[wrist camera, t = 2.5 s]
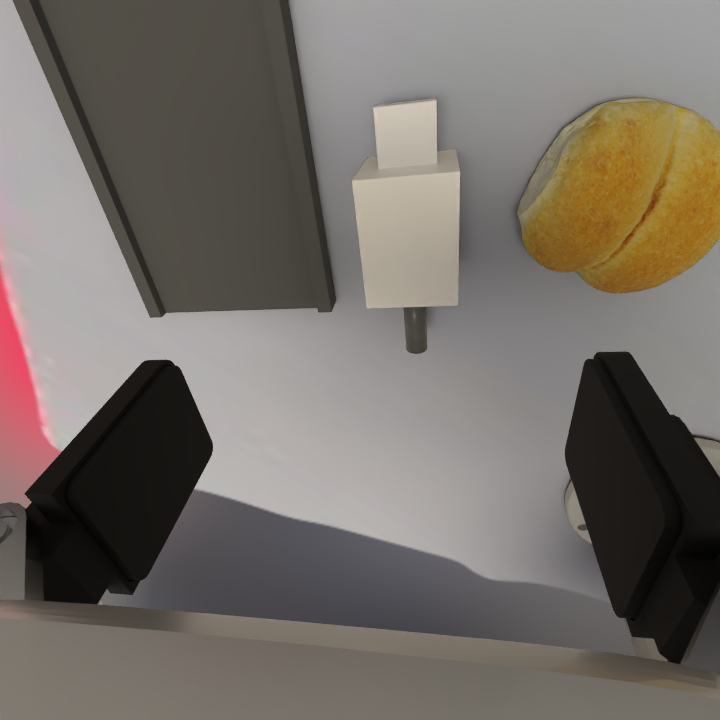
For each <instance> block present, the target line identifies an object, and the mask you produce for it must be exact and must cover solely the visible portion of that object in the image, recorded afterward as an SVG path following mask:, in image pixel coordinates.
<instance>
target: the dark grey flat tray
mask: <svg viewBox="0 0 720 720" xmlns="http://www.w3.org/2000/svg"><path fill="white" fill-rule="evenodd" d="M13 2H14V5H15V7H16V9H17V12H18V14H19V16H20V19H21V21H22V23H23V25H24V28H25V30H26V32H27V35H28V37H29V39H30V42H31V44H32V46H33V48H34V51H35V53H36V55H37V58H38V60H39V62H40V65H41V67H42V69H43V72H44V74H45V76H46V78H47V81H48V83H49V85H50V88H51V90H52V92H53V95H54V97H55V99H56V101H57V104H58V106H59V108H60V111H61V113H62V115H63V118H64V120H65V122H66V125H67V127H68V129H69V131H70V134H71V136H72V138H73V141H74V143H75V145H76V148H77V150H78V152H79V154H80V157H81V159H82V161H83V164H84V166H85V168H86V171H87V173H88V175H89V178H90V180H91V182H92V184H93V187H94V189H95V191H96V194H97V196H98V198H99V201H100V203H101V205H102V207H103V210H104V212H105V214H106V217H107V219H108V221H109V224H110V226H111V228H112V230H113V233H114V235H115V237H116V240H117V242H118V244H119V247H120V249H121V251H122V254H123V256H124V258H125V260H126V263H127V265H128V267H129V270H130V272H131V274H132V277H133V279H134V281H135V283H136V286H137V288H138V290H139V293H140V295H141V297H142V300H143V302H144V304H145V307H146V309H147V311H148V313H149V316H150V318H152V317H162V316H163V315H164V314H165V313H172V312H202V311H233V310H264V309H295V308H318V312H332V309H333V307H334V304H335V302H336V300H335V293H334V287H333V281H332V274H331V268H330V262H329V255H328V249H327V243H326V236H325V230H324V224H323V217H322V211H321V205H320V198H319V192H318V186H317V180H316V173H315V167H314V161H313V154H312V148H311V142H310V135H309V129H308V123H307V116H306V110H305V104H304V97H303V91H302V85H301V79H300V72H299V66H298V60H297V53H296V47H295V41H294V34H293V28H292V22H291V15H290V9H289V3H288V0H13Z"/></svg>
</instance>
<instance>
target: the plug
mask: <svg viewBox="0 0 720 720" xmlns="http://www.w3.org/2000/svg"><path fill="white" fill-rule="evenodd" d="M373 111H374V123H375V135H376V147H377V157H369V158H367V159H366V160H365V162H364V163H363V165H362V166H361V168H360V169H359V171H358V172H357V174H356V175H355V177H354V178H353V180H352V186H353V195H354V203H355V212H356V221H357V229H358V238H359V246H360V255H361V264H362V272H363V281H364V289H365V298H366V307H367V309H368V308H399V307H404V318H405V334H406V349H407V351H408V352H410V353H414V354H419V353H423V352H425V351H426V350H427V325H426V307H430V306H458V275H459V209H460V168H459V163H458V158H457V152H456V149H453V150H442V151H437V99H436V98H431V99H422V100H414V101H405V102H397V103H388V104H380V105H376V106H375V107H373Z"/></svg>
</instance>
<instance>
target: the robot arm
mask: <svg viewBox="0 0 720 720" xmlns="http://www.w3.org/2000/svg"><path fill="white" fill-rule="evenodd" d="M212 451H213V443H212V440H211V438H210V436H209V433H208V431H207V429H206V426H205V424H204V422H203V420H202V417H201V415H200V413H199V410H198V408H197V406H196V403H195V401H194V399H193V396H192V394H191V392H190V390H189V387H188V385H187V383H186V380H185V378H184V376H183V373H182V371H181V369H180V368H179V367H178V366H175V365H174V363H173V362H172V361H170V360H147V361H144V362H143V363H141V365H140V366H139V367H138V368H137V369H136V370H135V371H134V372H133V373H132V375H131V376H130V377H129V378H128V379H127V380H126V381H125V382H124V383H123V385H122V386H121V387H120V388H119V389H118V390H117V391H116V392H115V393H114V395H113V396H112V397H111V398H110V399H109V400H108V401H107V402H106V403H105V405H104V406H103V407H102V408H101V409H100V410H99V411H98V412H97V413H96V415H95V416H94V417H93V418H92V419H91V420H90V421H89V422H88V423H87V425H86V426H85V427H84V428H83V429H82V430H81V431H80V432H79V434H78V435H77V436H76V437H75V438H74V439H73V440H72V441H71V442H70V444H69V445H68V446H67V447H66V448H65V449H64V450H63V451H62V452H61V454H60V455H59V456H58V457H57V458H56V459H55V460H54V461H53V462H52V464H51V465H50V466H49V467H48V468H47V469H46V470H45V471H44V472H43V474H42V475H41V476H40V477H39V478H38V479H37V480H36V481H35V482H34V484H33V485H32V486H31V487H30V488H29V489H28V490H27V491H26V493H25V495H26V496H27V497H28V498H29V499H30V501H31V502H32V503H31V504H30V505H29V506H28V507H27V509H25V508H24V507H23V506H21V505H20V504H19V503H12V502H9V503H2V504H0V720H720V443H719V442H716V441H711V440H706V439H701V438H694V437H693V436H692V434H691V433H690V431H689V430H688V428H687V427H686V425H685V424H684V423H683V422H682V420H681V419H680V418H679V417H677V416H675V415H670V414H669V413H668V411H667V410H666V408H665V407H664V405H663V403H662V402H661V400H660V399H659V397H658V396H657V394H656V393H655V391H654V389H653V388H652V386H651V385H650V383H649V382H648V380H647V378H646V377H645V375H644V374H643V372H642V371H641V369H640V368H639V366H638V364H637V363H636V361H635V360H634V358H633V357H632V355H631V354H630V353H629V352H598V353H596V354H595V356H594V359H587V360H586V361H585V363H584V367H583V371H582V376H581V380H580V385H579V389H578V393H577V398H576V402H575V407H574V411H573V416H572V420H571V425H570V429H569V434H568V438H567V443H566V447H565V459H566V464H567V467H568V471H569V474H570V477H571V480H572V481H571V482H570V484H569V486H568V489H567V491H566V494H565V508H566V512H567V516H568V519H569V522H570V524H571V526H572V528H573V529H574V530H575V531H576V533H577V534H578V535H579V536H581V537H582V538H583V539H585V540H586V541H587V542H589V543H591V544H592V545H593V548H594V551H595V554H596V558H597V561H598V564H599V567H600V570H601V573H602V576H603V579H604V582H605V586H606V589H607V592H608V595H609V598H610V601H611V604H612V607H613V610H614V611H615V614H616V615H617V616H618V617H620V618H624V621H625V624H626V627H627V630H628V633H629V636H630V639H631V642H632V645H633V648H634V651H635V654H636V657H635V656H628V655H622V654H616V653H608V652H599V651H590V650H581V649H572V648H563V647H555V646H546V645H537V644H528V643H518V642H510V641H499V640H489V639H478V638H468V637H457V636H445V635H435V634H425V633H414V632H404V631H393V630H383V629H372V628H361V627H350V626H339V625H327V624H317V623H306V622H295V621H283V620H272V619H260V618H250V617H239V616H227V615H216V614H204V613H192V612H180V611H169V610H156V609H145V608H133V607H121V606H109V605H102V599H101V597H102V596H103V594H104V592H105V591H106V589H108V590H109V592H110V593H115V594H128V595H133V593H134V591H135V589H136V587H137V585H138V583H139V582H140V580H143V579H145V578H146V577H147V575H148V574H149V572H150V570H151V569H152V567H153V565H154V563H155V561H156V559H157V557H158V555H159V553H160V552H161V550H162V548H163V546H164V544H165V542H166V540H167V538H168V537H169V535H170V533H171V531H172V529H173V527H174V525H175V523H176V521H177V520H178V518H179V516H180V514H181V512H182V510H183V508H184V506H185V504H186V503H187V501H188V499H189V496H190V495H191V493H192V491H193V489H194V487H195V486H196V484H197V482H198V480H199V478H200V476H201V474H202V472H203V470H204V469H205V467H206V465H207V463H208V461H209V459H210V457H211V455H212Z"/></svg>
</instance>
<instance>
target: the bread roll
mask: <svg viewBox="0 0 720 720" xmlns="http://www.w3.org/2000/svg"><path fill="white" fill-rule="evenodd" d="M517 215H518V218H519V221H520V225H521V231H522V238H523V243H524V246H525V248H526V250H527V251H528V252H529V253H530V254H531V256H532V257H533V258H534V259H535V260H536V261H537V262H538V263H539V264H541V265H542V266H544V267H546V268H547V269H550V270H553V271H558V272H571V271H577V272H578V273H579V274H580V275H581V277H582V278H583V279H584V280H585V281H586V282H587V283H588V284H589V285H591V286H593V287H594V288H596V289H598V290H602V291H605V292H610V293H628V292H635V291H641V290H645V289H649V288H653V287H656V286H658V285H660V284H662V283H664V282H666V281H668V280H670V279H672V278H674V277H676V276H677V275H679V274H681V273H682V272H684V271H685V270H687V269H689V268H690V267H691V266H693V265H694V264H695V263H696V262H698V261H699V260H700V259H701V258H702V257H703V256H705V255H706V254H707V253H708V252H709V250H710V249H711V248H712V247H713V246H714V245H715V243H716V242H717V241H718V240H719V238H720V131H719V130H718V129H717V128H716V127H715V126H714V125H713V124H712V123H711V122H710V121H708V120H707V119H705V118H704V117H702V116H701V115H699V114H698V113H696V112H694V111H692V110H689V109H686V108H681V107H678V106H675V105H673V104H670V103H667V102H661V101H659V100H654V99H648V98H628V99H621V100H616V101H610V102H605V103H602V104H600V105H597V106H595V107H594V108H592V109H591V110H589V111H587V112H586V113H584V114H583V115H582V116H580V117H579V118H577V119H576V120H575V121H574V122H573V123H571V124H569V125H567V126H566V127H564V129H563V130H562V131H561V132H560V134H559V135H558V137H557V138H556V139H555V141H554V142H553V144H552V145H551V147H550V148H549V150H548V151H547V152H546V154H545V155H544V156H543V158H542V159H541V161H540V163H539V164H538V166H537V168H536V170H535V173H534V174H533V176H532V177H531V179H530V182H529V184H528V187H527V188H526V190H525V192H524V194H523V197H522V198H521V200H520V203H519V207H518V212H517Z"/></svg>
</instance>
